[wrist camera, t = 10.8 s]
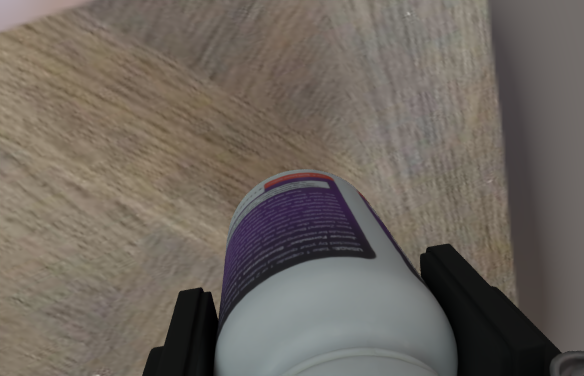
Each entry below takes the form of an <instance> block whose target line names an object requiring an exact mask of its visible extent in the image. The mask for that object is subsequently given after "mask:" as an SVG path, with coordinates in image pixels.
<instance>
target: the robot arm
mask: <svg viewBox="0 0 584 376" xmlns="http://www.w3.org/2000/svg"><path fill="white" fill-rule="evenodd" d="M420 268H421V278H422V279H423V281H424V282H425V283H426V285H427V286H428V287H429V289H430V290H431V292H432V293H433V295H434V296H435V298H436V299H437V301H438V303H439V304H440V306H441V307H442V309H443V311H444V313H445V314H446V316H447V318H448V320H449V323H450V325H451V327H452V330H453V333H454V337H455V340H456V344H457V351H458V370H457V376H584V351H568V352H565V353H561V352H560V350H559V349H558V348H557V347H555V345H554V344H553V343H552V342H551V341H550V340H549V339H548V338H547V337H546V336H545V335H544V334H543V333H542V332H541V331H540V330H539V329H538V328H537V327H536V326H535V325H534V324H533V323H532V322H531V321H530V320H529V319H528V318H527V317H526V316H525V315H524V314H523V313H522V312H521V311H520V310H519V309H518V308H517V307H516V306H515V305H514V304H513V303H512V302H511V301H510V300H509V299H508V298H507V297H506V296H505V295H504V294H503V293H502V292H501V291H500V290H499V289H498V288H497V287H493V286H490V285H489V284H488V283H487V282H486V281H485V280H484V279H483V278H482V277H481V276H480V275H479V274H478V273H477V272H476V271H475V270H474V268H473V267H472V266H471V265H470V264H469V263H468V262H467V261H466V260H465V259H464V258H463V257H462V256H461V255H460V254H459V253H458V252H457V251H456V250H455V249H454V248H453V247H452V246H451V245H450V244H443V245H437V246H431V247H428V248H427V249H426V253H423V254H421V255H420ZM217 327H218V318H217V314H216V310H215V306H214V302H213V298H212V294H211V292H204V291H203V289H202V288H201V287H200V288H195V289H189V290H184V291H180V292H179V295H178V298H177V302H176V305H175V309H174V312H173V316H172V319H171V323H170V326H169V330H168V333H167V337H166V340H165V344H164V346H161V347H155V348H153V349H152V350H151V351H150V353H149V356H148V359H147V362H146V365H145V368H144V372H143V375H142V376H213V368H214V356H215V343H216V335H217Z"/></svg>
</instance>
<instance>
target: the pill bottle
mask: <svg viewBox="0 0 584 376" xmlns="http://www.w3.org/2000/svg"><path fill="white" fill-rule="evenodd" d="M457 370H458V351H457V344H456V340H455V337H454V333H453V330H452V327H451V325H450V323H449V320H448V318H447V316H446V314H445V313H444V311H443V309H442V307H441V306H440V304H439V303H438V301H437V299H436V298H435V296H434V295H433V293H432V292H431V290H430V289H429V287H428V286H427V285H426V283H425V282H424V281H423V279H422V278H421V276H420V275H419V274H418V272H417V271H416V269H415V268H414V266H413V265H412V264H411V262H410V261H409V259H408V258H407V256H406V255H405V253H404V252H403V251H402V249H401V248H400V246H399V245H398V244H397V242H396V241H395V239H394V238H393V236H392V235H391V234H390V232H389V231H388V229H387V228H386V226H385V225H384V224H383V222H382V221H381V219H380V218H379V216H378V215H377V213H376V212H375V210H374V209H373V208H372V207H371V205H370V204H369V202H368V201H367V200H366V199H365V197H364V196H363V195H362V194H361V193H360V192H359V191H358V190H357V189H356V188H355V187H354V186H352V185H351V184H350V183H349V182H347V181H345V180H344V179H342V178H340V177H338V176H336V175H333V174H330V173H327V172H323V171H319V170H310V169H300V170H291V171H286V172H282V173H279V174H276V175H274V176H272V177H269V178H268V179H266V180H264V181H262V182H261V183H259V184H258V185H257V186H255V187H254V188H253V189H252V190H251V191H250V192H249V193H248V194H247V195H246V196H245V197H244V198H243V200H242V201H241V202H240V204H239V205H238V207H237V209H236V210H235V213H234V215H233V217H232V220H231V223H230V227H229V232H228V237H227V245H226V256H225V266H224V276H223V285H222V294H221V303H220V311H219V319H218V327H217V335H216V343H215V356H214V368H213V376H457Z"/></svg>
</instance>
